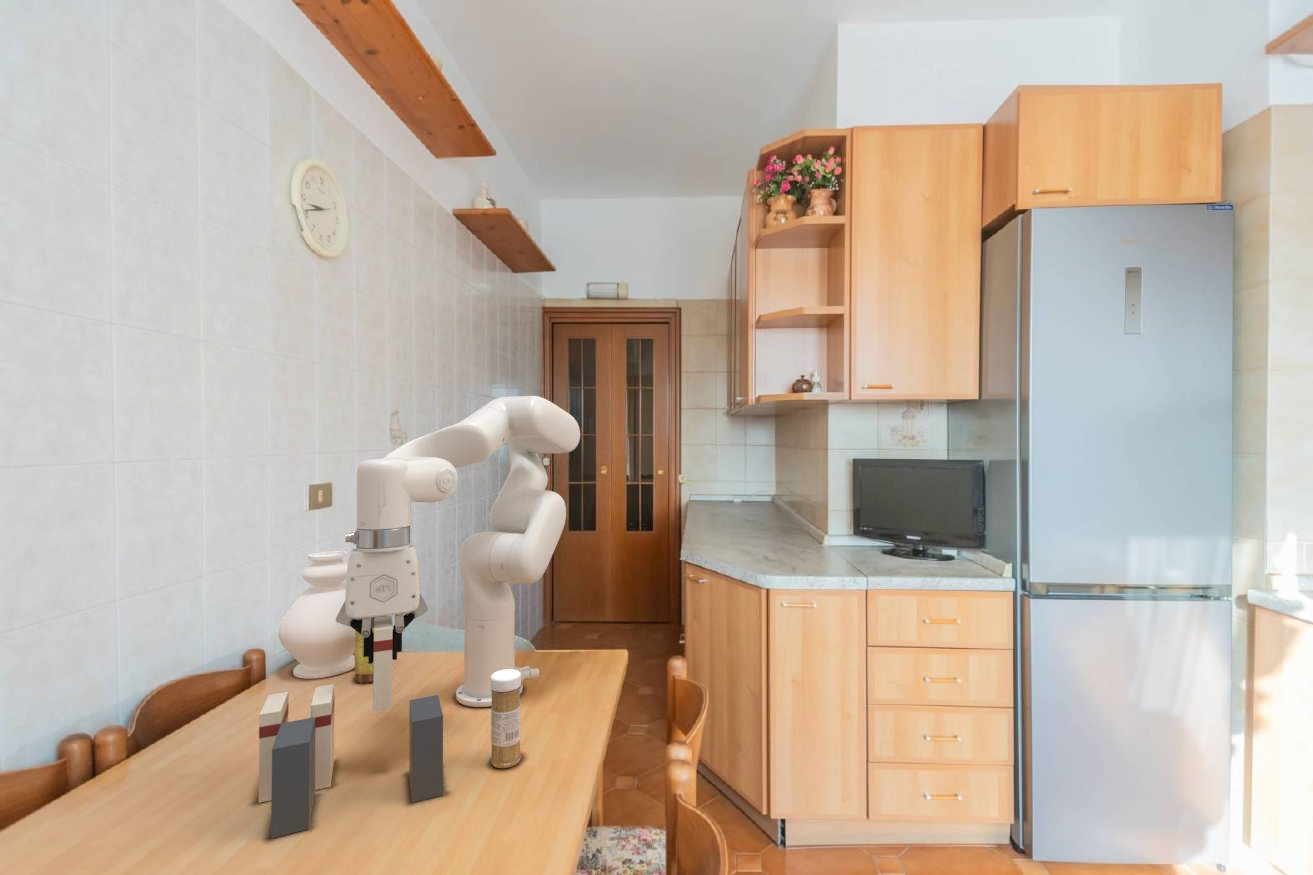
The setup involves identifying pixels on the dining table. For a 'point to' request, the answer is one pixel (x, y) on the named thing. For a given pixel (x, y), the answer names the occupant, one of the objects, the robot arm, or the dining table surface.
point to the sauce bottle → (363, 659)
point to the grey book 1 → (293, 777)
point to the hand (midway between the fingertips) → (382, 657)
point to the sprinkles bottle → (505, 718)
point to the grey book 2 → (425, 748)
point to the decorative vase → (320, 620)
